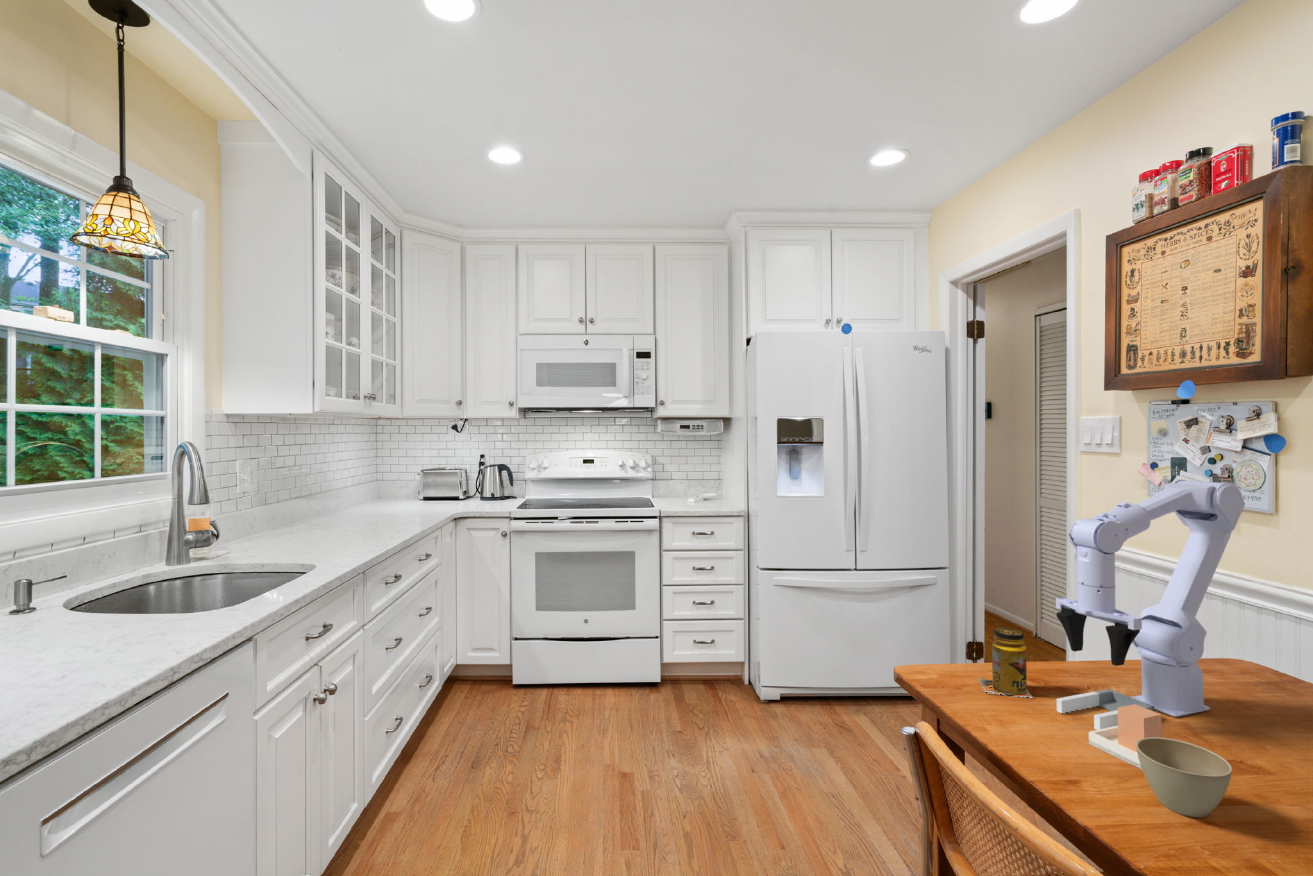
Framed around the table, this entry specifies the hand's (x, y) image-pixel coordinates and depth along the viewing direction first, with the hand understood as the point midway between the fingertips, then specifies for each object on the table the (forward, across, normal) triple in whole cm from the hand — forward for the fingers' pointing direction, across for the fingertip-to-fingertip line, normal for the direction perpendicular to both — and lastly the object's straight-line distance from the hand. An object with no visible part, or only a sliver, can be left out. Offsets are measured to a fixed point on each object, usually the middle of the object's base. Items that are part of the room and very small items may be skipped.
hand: (1096, 657), depth 111 cm
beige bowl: (+11, +24, -17) cm, 31 cm away
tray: (+10, +12, -8) cm, 18 cm away
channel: (+10, +1, -2) cm, 11 cm away
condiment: (+11, -14, -7) cm, 19 cm away
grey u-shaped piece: (+10, +1, +5) cm, 12 cm away
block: (+10, +12, -7) cm, 17 cm away
